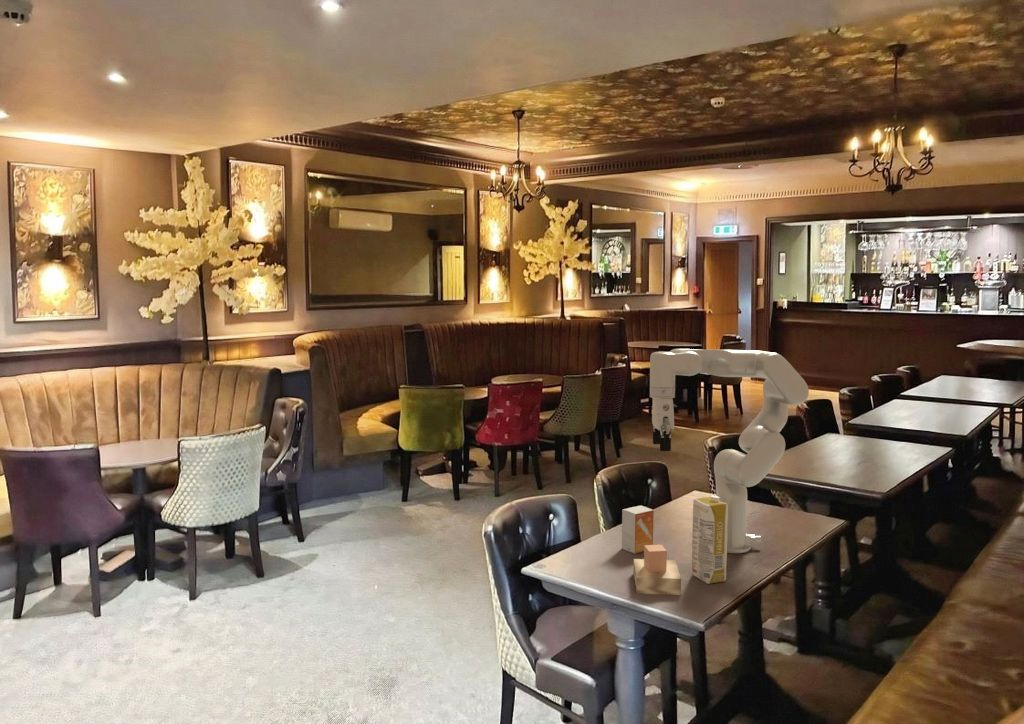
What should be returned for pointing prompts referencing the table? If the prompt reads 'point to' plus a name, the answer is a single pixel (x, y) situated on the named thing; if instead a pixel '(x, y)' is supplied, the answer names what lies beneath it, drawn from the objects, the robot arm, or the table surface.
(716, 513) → the juice carton
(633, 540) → the small box
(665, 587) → the birch block
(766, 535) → the table surface
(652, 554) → the terracotta block
